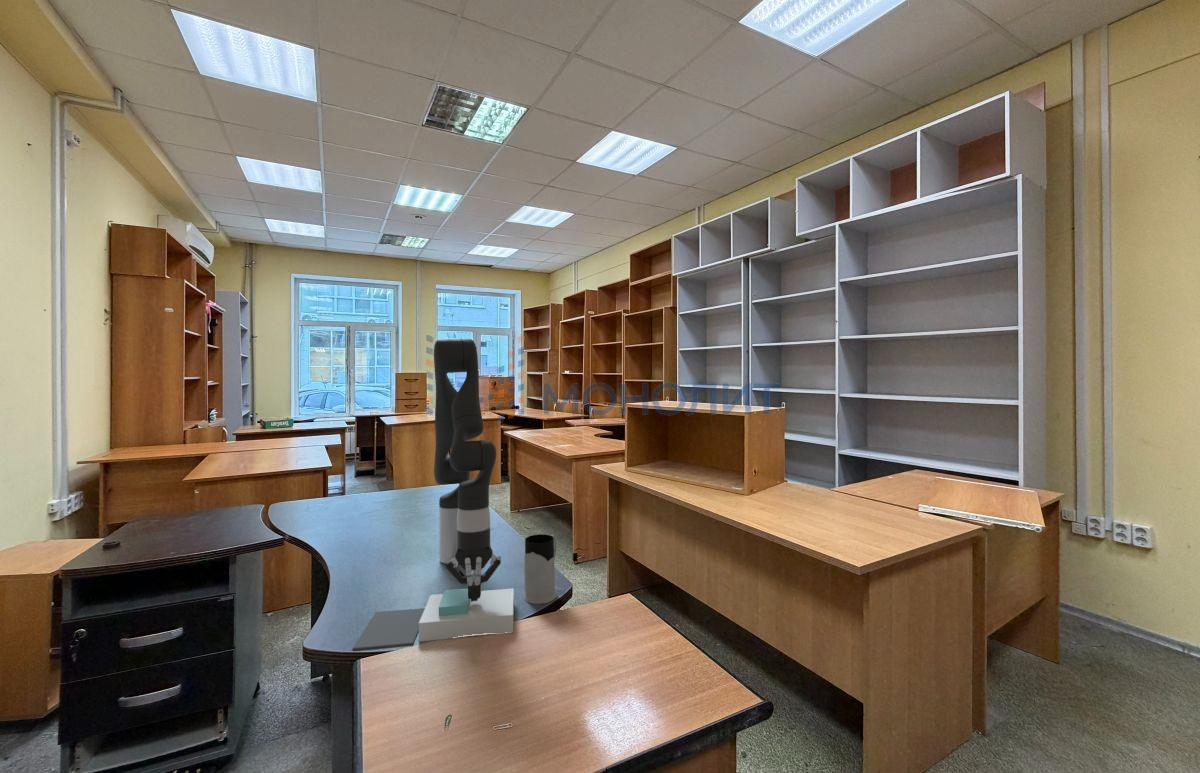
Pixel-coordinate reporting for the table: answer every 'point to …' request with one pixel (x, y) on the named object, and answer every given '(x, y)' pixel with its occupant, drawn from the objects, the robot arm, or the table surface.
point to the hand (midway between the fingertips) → (474, 599)
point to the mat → (390, 629)
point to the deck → (469, 617)
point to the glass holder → (540, 568)
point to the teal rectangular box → (454, 602)
